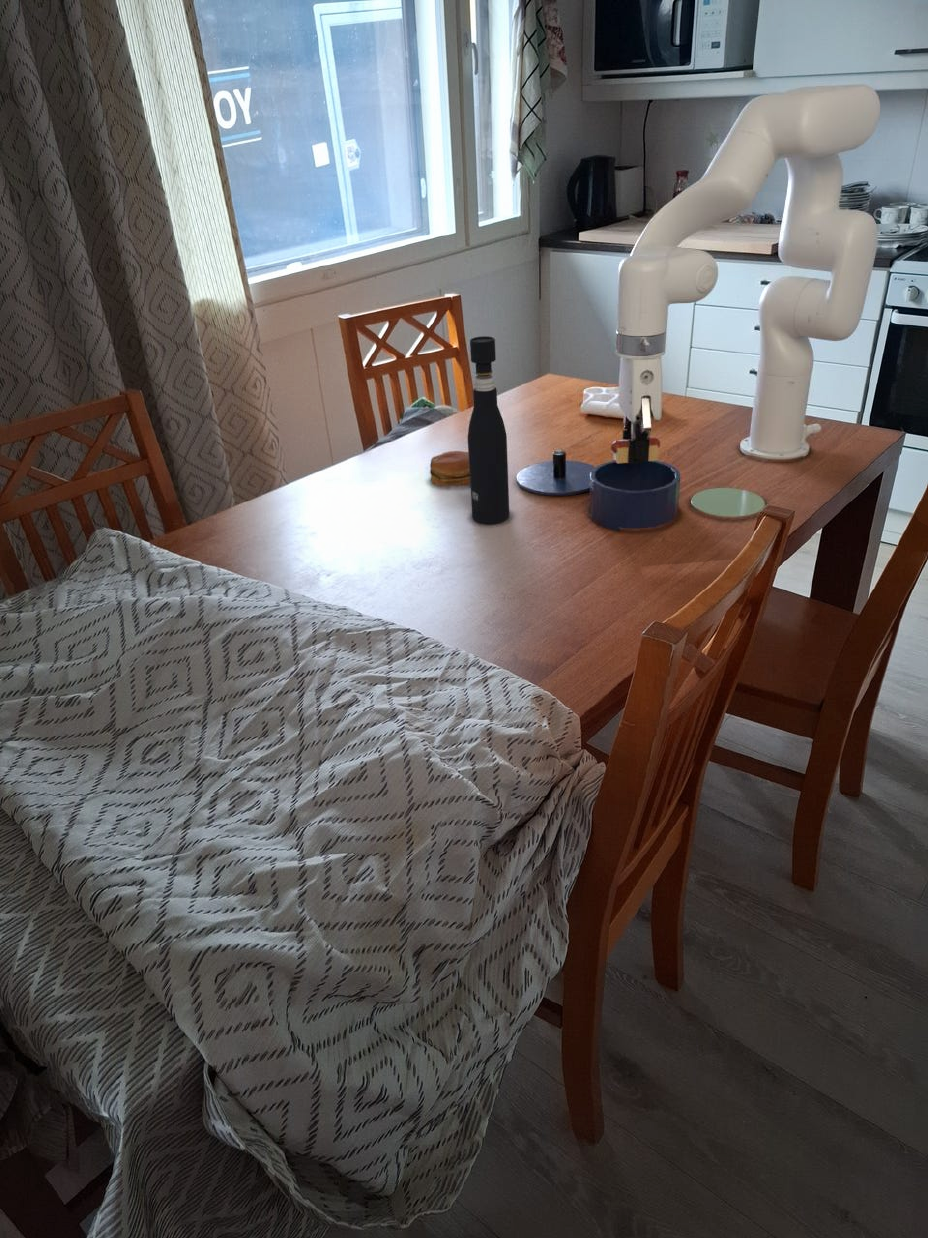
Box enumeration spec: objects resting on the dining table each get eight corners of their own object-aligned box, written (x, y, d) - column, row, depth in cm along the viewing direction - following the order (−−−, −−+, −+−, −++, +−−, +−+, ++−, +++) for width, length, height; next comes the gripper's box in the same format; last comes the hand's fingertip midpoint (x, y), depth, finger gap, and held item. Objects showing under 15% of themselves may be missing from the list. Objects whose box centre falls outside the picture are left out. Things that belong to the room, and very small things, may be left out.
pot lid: (573, 459, 168) (573, 432, 165) (619, 485, 156) (620, 456, 153) (502, 477, 163) (500, 448, 160) (543, 505, 150) (543, 475, 147)
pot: (643, 489, 154) (645, 452, 150) (695, 518, 142) (698, 479, 138) (573, 508, 149) (573, 470, 145) (621, 539, 137) (623, 499, 134)
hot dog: (656, 452, 142) (657, 433, 140) (661, 460, 139) (663, 441, 137) (608, 456, 142) (608, 437, 140) (612, 464, 138) (613, 445, 137)
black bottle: (514, 510, 149) (508, 334, 134) (503, 526, 144) (496, 344, 128) (479, 507, 151) (469, 333, 136) (467, 523, 146) (455, 343, 130)
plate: (731, 486, 152) (731, 482, 152) (780, 509, 143) (780, 505, 143) (676, 501, 148) (676, 497, 148) (722, 526, 139) (723, 522, 139)
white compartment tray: (567, 415, 191) (595, 396, 202) (642, 425, 183) (668, 405, 193) (567, 400, 190) (595, 382, 200) (643, 409, 181) (669, 390, 191)
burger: (487, 483, 160) (485, 459, 158) (439, 492, 158) (437, 468, 156) (469, 466, 169) (468, 443, 166) (424, 474, 166) (422, 451, 164)
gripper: (680, 355, 124) (671, 474, 133) (651, 329, 138) (645, 439, 147) (628, 358, 123) (623, 478, 133) (605, 332, 138) (601, 442, 147)
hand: (634, 456), depth 140 cm, fingers closed on hot dog, 3 cm apart
